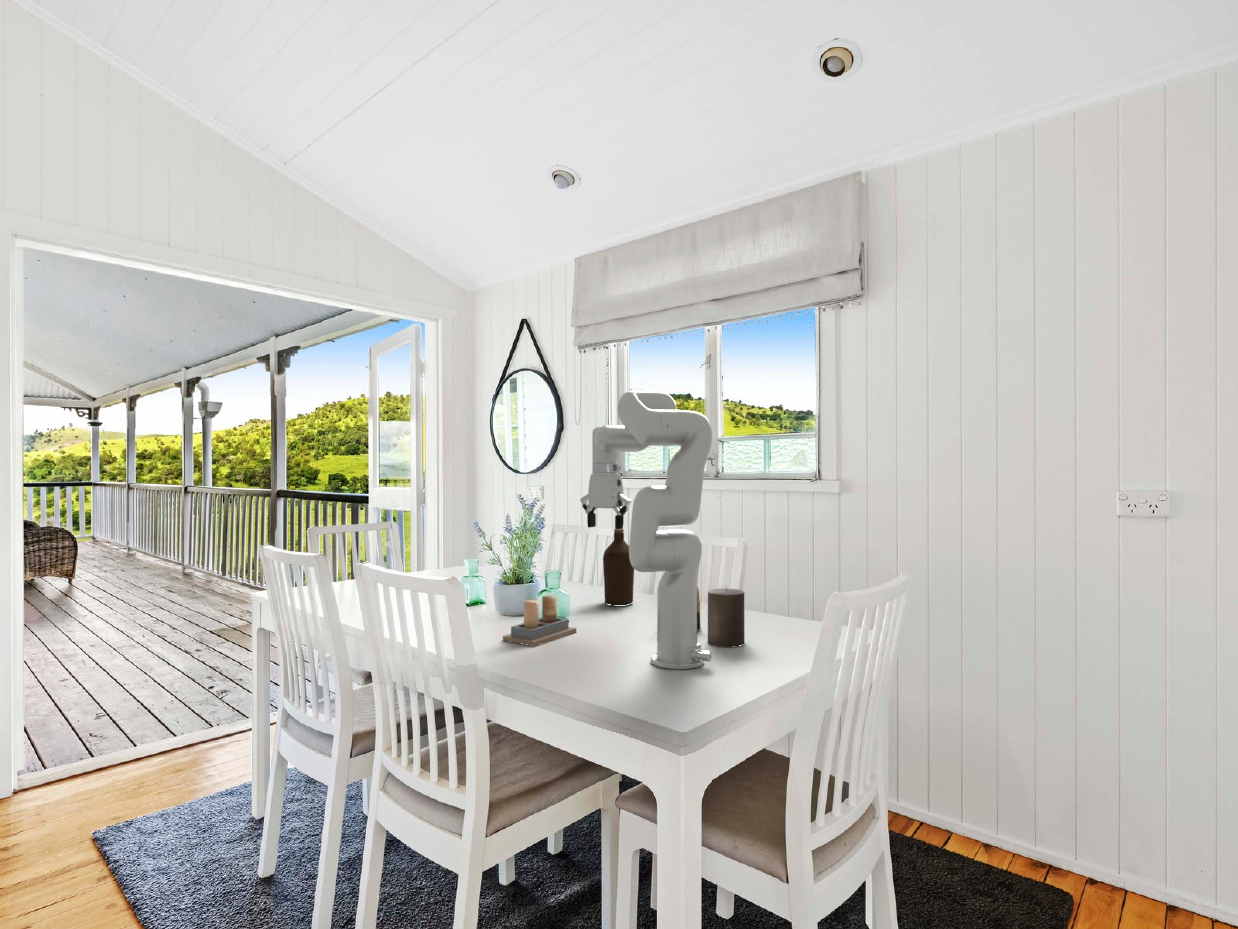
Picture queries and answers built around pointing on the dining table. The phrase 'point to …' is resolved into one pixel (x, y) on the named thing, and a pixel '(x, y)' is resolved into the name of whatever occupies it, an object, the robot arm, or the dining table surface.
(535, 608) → the housing
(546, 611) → the switch lever
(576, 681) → the dining table surface
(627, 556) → the olive oil
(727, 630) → the pillar candle
